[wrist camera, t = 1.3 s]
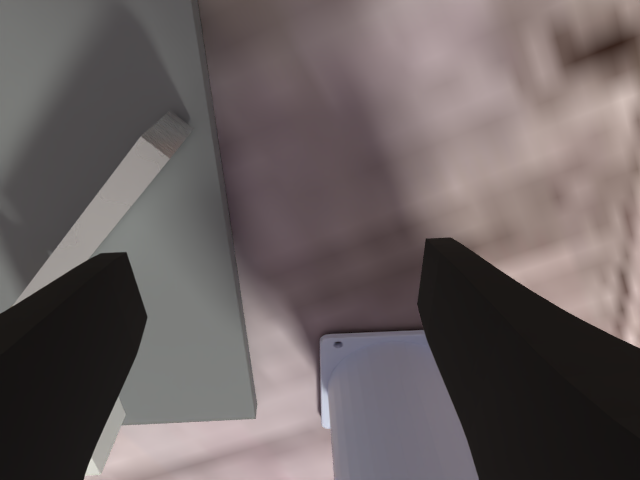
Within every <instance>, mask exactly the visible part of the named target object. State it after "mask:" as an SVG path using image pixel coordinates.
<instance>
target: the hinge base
mask: <svg viewBox="0 0 640 480" xmlns="http://www.w3.org/2000/svg"><path fill="white" fill-rule="evenodd" d="M170 110H171V111H172V112H173V113H174V114H176V115H177V116H178V117H179V118H181V119H182V120H183V121H184V122H185V123H187V124H188V125H189V126H190V127H192V128H193V130H192V131H191V133H190V134H189V135H188V136H187V138H186V139H185V140H184V141H183V143H182V144H181V145H180V147H179V148H178V149H177V150H176V152H175V153H174V154H173V155H172V157H171V158H170V159H169V160H168V162H167V163H166V164H165V165H164V167H163V168H162V169H161V170H160V171H159V173H158V174H157V175H156V176H155V178H154V179H153V180H152V181H151V183H150V184H149V185H148V186H147V187H146V189H145V190H144V191H143V192H142V194H141V195H140V196H139V197H138V199H137V200H136V201H135V202H134V203H133V205H132V206H131V207H130V208H129V210H128V211H127V212H126V213H125V215H124V216H123V217H122V218H121V219H120V221H119V222H118V223H117V224H116V226H115V227H114V228H113V229H112V231H111V232H110V233H109V234H108V235H107V237H106V238H105V239H104V240H103V242H102V243H101V244H100V245H99V246H98V248H97V249H96V250H95V251H94V253H93V254H92V255H91V256H90V258H92V257H94V256H96V255H98V254H100V253H114V252H127V255H128V258H129V261H130V264H131V267H132V270H133V273H134V276H135V280H136V283H137V286H138V289H139V292H140V295H141V298H142V301H143V304H144V307H145V310H146V313H147V317H148V318H147V322H146V325H145V329H144V333H143V337H142V340H141V343H140V346H139V350H138V353H137V356H136V358H135V360H134V363H133V365H132V367H131V369H130V372H129V374H128V376H127V379H126V381H125V383H124V385H123V387H122V390H121V392H120V394H119V396H118V398H117V401H116V403H115V405H114V407H113V409H112V412H111V414H110V416H109V418H108V420H107V423H106V425H105V427H104V429H103V431H102V434H101V436H100V438H99V440H98V442H97V445H96V447H95V450H94V452H93V455H92V457H91V460H90V462H89V465H88V468H87V471H86V474H85V476H89V475H101V473H102V471H103V469H104V466H105V464H106V461H107V459H108V456H109V454H110V452H111V449H112V447H113V444H114V442H115V439H116V437H117V435H118V432H119V430H120V427H121V425H140V424H160V423H181V422H201V421H221V420H241V419H256V410H257V401H256V394H255V387H254V381H253V374H252V367H251V360H250V353H249V347H248V340H247V333H246V326H245V319H244V313H243V306H242V299H241V292H240V285H239V279H238V272H237V265H236V258H235V251H234V245H233V238H232V231H231V224H230V218H229V211H228V204H227V197H226V190H225V184H224V177H223V170H222V163H221V156H220V150H219V143H218V136H217V129H216V122H215V116H214V109H213V102H212V95H211V88H210V82H209V75H208V68H207V61H206V54H205V48H204V41H203V34H202V27H201V20H200V14H199V7H198V0H0V313H2V312H4V311H6V310H7V309H9V308H11V307H12V306H13V304H14V303H15V302H16V300H17V299H18V298H19V296H20V295H21V294H22V293H23V291H24V290H25V289H26V287H27V286H28V285H29V283H30V282H31V281H32V279H33V278H34V277H35V275H36V274H37V273H38V271H39V270H40V269H41V267H42V266H43V265H44V263H45V262H46V261H47V260H48V258H49V257H50V256H51V254H52V253H53V252H54V250H55V249H56V248H57V246H58V245H59V244H60V242H61V241H62V240H63V238H64V237H65V236H66V234H67V233H68V232H69V230H70V229H71V228H72V226H73V225H74V224H75V223H76V221H77V220H78V219H79V217H80V216H81V215H82V213H83V212H84V211H85V209H86V208H87V207H88V205H89V204H90V203H91V201H92V200H93V199H94V197H95V196H96V195H97V193H98V192H99V191H100V190H101V188H102V187H103V186H104V184H105V183H106V182H107V180H108V179H109V178H110V176H111V175H112V174H113V172H114V171H115V170H116V168H117V167H118V166H119V164H120V163H121V162H122V160H123V159H124V158H125V157H126V155H127V154H128V153H129V151H130V150H131V149H132V147H133V146H134V145H135V143H136V142H137V141H138V139H139V138H140V137H141V136H142V135H143V134H144V133H145V132H146V131H147V130H148V129H150V128H151V127H152V126H153V125H154V124H155V123H156V122H157V121H159V120H160V119H161V118H162V117H163V116H164V115H165V114H166V113H167V112H169V111H170ZM90 258H89V259H90Z"/></svg>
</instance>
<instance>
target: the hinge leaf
mask: <svg viewBox="0 0 640 480" xmlns="http://www.w3.org/2000/svg"><path fill="white" fill-rule="evenodd" d="M192 130H193V128H192V127H190V126H189V125H188V124H187V123H185V122H184V121H183V120H182V119H181V118H179V117H178V116H177V115H176V114H174V113H173V112H172V111H171V110H170V111H169V112H167V113H166V114H165V115H164V116H163V117H162V118H161V119H160V120H159V121H157V122H156V123H155V124H154V125H153V126H152V127H151V128H150V129H148V130H147V131H146V132H145V133H144V134H143V135H142V136H141V137H140V138H139V139H138V141H137V142H136V143H135V145H134V146H133V147H132V149H131V150H130V151H129V153H128V154H127V155H126V157H125V158H124V159H123V160H122V162H121V163H120V164H119V166H118V167H117V168H116V170H115V171H114V172H113V174H112V175H111V176H110V178H109V179H108V180H107V182H106V183H105V184H104V186H103V187H102V188H101V190H100V191H99V192H98V193H97V195H96V196H95V197H94V199H93V200H92V201H91V203H90V204H89V205H88V207H87V208H86V209H85V211H84V212H83V213H82V215H81V216H80V217H79V219H78V220H77V221H76V223H75V224H74V225H73V226H72V228H71V229H70V230H69V232H68V233H67V234H66V236H65V237H64V238H63V240H62V241H61V242H60V244H59V245H58V246H57V248H56V249H55V250H54V252H53V253H52V254H51V256H50V257H49V258H48V260H47V261H46V262H45V263H44V265H43V266H42V267H41V269H40V270H39V271H38V273H37V274H36V275H35V277H34V278H33V279H32V281H31V282H30V283H29V285H28V286H27V287H26V289H25V290H24V291H23V293H22V294H21V295H20V296H19V298H18V299H17V300H16V302H15V303H14V304H13V306H14V305H16V304H17V303H19V302H21V301H22V300H24V299H25V298H27V297H29V296H30V295H32V294H33V293H35V292H37V291H38V290H40V289H41V288H43V287H44V286H46V285H48V284H49V283H51V282H52V281H54V280H56V279H57V278H59V277H60V276H62V275H64V274H65V273H67V272H68V271H70V270H72V269H73V268H75V267H76V266H78V265H80V264H81V263H83V262H85V261H87V260H88V259H89V258H90V256H91V255H92V254H93V253H94V251H95V250H96V249H97V248H98V246H99V245H100V244H101V243H102V242H103V240H104V239H105V238H106V237H107V235H108V234H109V233H110V232H111V231H112V229H113V228H114V227H115V226H116V224H117V223H118V222H119V221H120V219H121V218H122V217H123V216H124V215H125V213H126V212H127V211H128V210H129V208H130V207H131V206H132V205H133V203H134V202H135V201H136V200H137V199H138V197H139V196H140V195H141V194H142V192H143V191H144V190H145V189H146V187H147V186H148V185H149V184H150V183H151V181H152V180H153V179H154V178H155V176H156V175H157V174H158V173H159V171H160V170H161V169H162V168H163V167H164V165H165V164H166V163H167V162H168V160H169V159H170V158H171V157H172V155H173V154H174V153H175V152H176V150H177V149H178V148H179V147H180V145H181V144H182V143H183V141H184V140H185V139H186V138H187V136H188V135H189V134H190V133H191V131H192Z"/></svg>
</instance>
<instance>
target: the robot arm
mask: <svg viewBox="0 0 640 480" xmlns="http://www.w3.org/2000/svg"><path fill="white" fill-rule="evenodd" d="M417 305H418V309H419V313H420V317H421V321H422V325H423V328H424V330H412V331H389V332H366V333H343V334H326V335H324V336H322V337H321V338H320V387H321V424H322V426H323V427H324V428H326V429H331V443H332V457H333V470H334V480H640V348H638V347H636V346H634V345H631V344H629V343H627V342H625V341H623V340H621V339H619V338H616V337H614V336H612V335H610V334H608V333H607V332H605V331H603V330H601V329H599V328H597V327H595V326H593V325H591V324H589V323H587V322H585V321H583V320H581V319H579V318H577V317H575V316H574V315H572V314H570V313H568V312H566V311H565V310H563V309H561V308H559V307H558V306H556V305H554V304H553V303H551V302H549V301H548V300H546V299H544V298H542V297H541V296H539V295H537V294H536V293H534V292H533V291H531V290H529V289H528V288H526V287H525V286H523V285H521V284H520V283H518V282H517V281H515V280H514V279H512V278H511V277H509V276H508V275H506V274H505V273H503V272H502V271H500V270H499V269H497V268H496V267H494V266H493V265H491V264H490V263H489V262H487V261H486V260H484V259H483V258H481V257H480V256H478V255H477V254H475V253H474V252H473V251H471V250H470V249H468V248H467V247H465V246H464V245H462V244H461V243H459V242H457V241H456V240H454V239H452V238H431V239H426V242H425V250H424V257H423V265H422V272H421V280H420V288H419V295H418V303H417ZM147 318H148V317H147V313H146V310H145V307H144V304H143V301H142V298H141V295H140V292H139V289H138V286H137V283H136V280H135V276H134V273H133V270H132V267H131V264H130V261H129V258H128V255H127V252H114V253H100V254H98V255H96V256H94V257H92V258H90V259H88V260H87V261H85V262H83V263H81V264H80V265H78V266H76V267H75V268H73V269H72V270H70V271H68V272H67V273H65V274H64V275H62V276H60V277H59V278H57V279H56V280H54V281H52V282H51V283H49V284H48V285H46V286H44V287H43V288H41V289H40V290H38V291H37V292H35V293H33V294H32V295H30V296H29V297H27V298H25V299H24V300H22V301H21V302H19V303H17V304H16V305H14V306H12V307H11V308H9V309H7V310H6V311H4V312H2V313H0V480H84V477H85V474H86V471H87V468H88V465H89V462H90V460H91V457H92V455H93V452H94V450H95V447H96V445H97V442H98V440H99V438H100V436H101V434H102V431H103V429H104V427H105V425H106V423H107V420H108V418H109V416H110V414H111V412H112V409H113V407H114V405H115V403H116V401H117V398H118V396H119V394H120V392H121V390H122V387H123V385H124V383H125V381H126V379H127V376H128V374H129V372H130V369H131V367H132V365H133V363H134V360H135V358H136V356H137V353H138V350H139V346H140V343H141V340H142V337H143V333H144V329H145V325H146V322H147ZM338 341H339V342H340V343H335V342H338Z"/></svg>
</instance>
